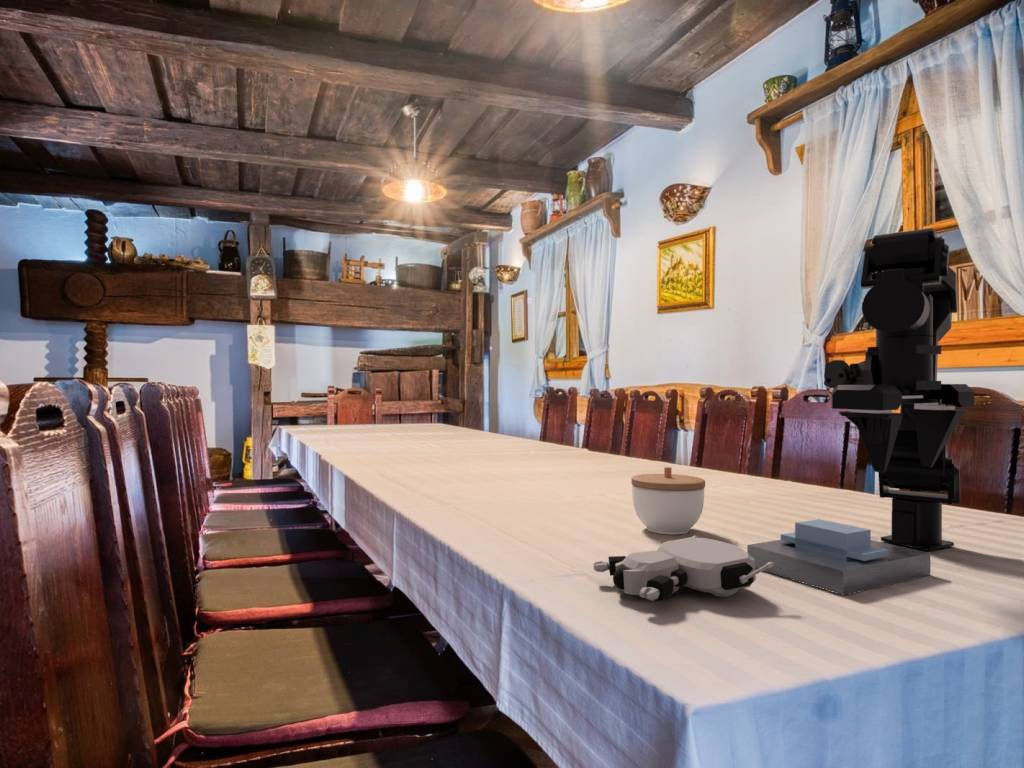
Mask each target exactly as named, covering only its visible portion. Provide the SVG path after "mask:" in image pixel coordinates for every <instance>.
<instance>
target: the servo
mask: <svg viewBox="0 0 1024 768" xmlns="http://www.w3.org/2000/svg"><path fill="white" fill-rule="evenodd" d="M794 524H795V525H794V527H795V528H794V530H795V531H794V532H788V533H781V534H780V540H782V541H786V542H790V543H794V544H795V548H796V549H800V550H804V551H808V552H812V553H816V554H820V555H824V556H828V557H831V558H835V559H839V560H843V561H847V562H852V561H857V560H862V561H867V560H872V559H877V558H882V557H887V556H888V550H887V549H883V548H878V547H874V546H871V540H872V539H871V534H872V533H871V529H868V528H864V527H860V526H859V527H858V526H853V525H848V524H844V523H839V522H834V521H830V520H824V519H812V520H805V521H798V522H795V523H794Z"/></svg>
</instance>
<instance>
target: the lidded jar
mask: <svg viewBox="0 0 1024 768" xmlns="http://www.w3.org/2000/svg"><path fill="white" fill-rule="evenodd" d="M663 471H664V472H663V473H644V474H636V475H633V476H632V477H631V482H630V483H631V494H632V495H631V496H632V503H633V508H634V511H635V513H636V516H637V518H638V519H639V521H640V522H641V523H642V524H643V525H644V526H645V527H646V530H647V531H648V532H651V533H653V534H654V533H655V534H659V535H660V534H661V535H671V536H672V535H673V536H674V535H685V534H688V533H689V532H690V529H691V528H692V527H694V526H695V525H696V524H697V522H698V521H699V519H700V517H701V515H702V513H703V509H704V502H705V488H706V480H705V479H704V478H702V477H698V476H694V475H687V474H686V475H685V474H676V473H675V474H673V473H672V467H671V466H670V467H669V466H665V467H664V470H663Z"/></svg>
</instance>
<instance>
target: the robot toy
mask: <svg viewBox="0 0 1024 768" xmlns="http://www.w3.org/2000/svg"><path fill="white" fill-rule="evenodd" d="M773 564H774V562H768V563H767V564H766V565H765V566H763V567H761V568H759V569H755V560H754V558H753V557H752V556H751V555H750V554H749V553H747V551H746V550H745V549H743V548H741V547H738V546H736V545H734V544H732V543H728V542H725V541H721V540H716V539H711V538H706V537H699V536H698V535H693V536H691V537H685V538H680V539H674V540H668V541H664V542H663V543H661V545H659V546H658V547H657V550H655V549H654V550H648V551H639V552H630V553H629V554H628V555H627V556H626V555H618V556H617V555H616V556H611V555H610V556H608V562H607V561H605V560H598V561H597V560H596V561H595V562H594V563H593V570H594V571H595V572H598V573H604V572H607V571H609V576H610V577H611V576H612V581H613V584H614V586H615V587H616V588H617V589H618V590H621V591H624V594H626V595H632V596H638V597H639V598H642V599H644V600H647V601H651V602H653V601H656V602H659V601H664V600H666V599H668V598H670V597H671V596H673V594H674V593H675V592H677V591H678V590H679V589H680V588H681V587H685V588H688V589H691V590H695V591H699V592H703V593H709V594H711V595H712V596H715V597H719V598H728V597H730V596H732V595H734V594H735V593H737V592H738V591H739V590H741V589H746V588H750V587H751V586H752V585H753V584H754V582H755V581H756V580H757V575H758V574H760V573H762V572H764V571H763V570H765V569H767V568H770V567H772V566H773Z"/></svg>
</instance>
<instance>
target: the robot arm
mask: <svg viewBox="0 0 1024 768" xmlns="http://www.w3.org/2000/svg"><path fill="white" fill-rule="evenodd" d="M945 240H946V239H945V238H943V236H938V235H937V232H936V230H935V228H933V227H929V228H923V229H922V228H921V229H914V230H907V231H900V232H899V231H898V232H891V233H884V234H876V235H874V236H873V237H872V238H871V245H870V244H869V245H866V246H865V250H864V258H863V265H862V271H861V272H862V273H861V278H860V287H861V288H862V289H863V290H865V289H869V290H868V291H867V293H865V295H864V298H863V301H862V302H861V311H862V316H863V318H864V320H865V321H866V322H867V324H869V325H870V327H872V328H874V330H875V346H868V347H867V349H866V350H865V353H864V358H865V359H864V360H863V361H859V362H857V363H850V364H848V363H847V362H846V361H845V360H843V359H834V360H831V361H829V362H827V363H825V365H824V374H823V378H824V381H823V385H824V386H825V387H828V388H829V389H833V390H832V391H831V393H830V408H831V409H832V410H833V409H835V410H836V409H837V410H843V411H838V414H839V415H840V416H841V417H845V418H846V419H847V420H849V421H850V422H851V423H852V424H854V426H856V428H857V430H858V433H859V434H860V436H861V439H862V441H863V444H864V447H865V449H866V453H867V456H868V458H869V460H870V463H871V466H872V469H873V471H874V472H876V473H877V474H878V491H879V498H880V499H881V498H889V499H891V529H890V530H891V535H885V536H880V542H884V543H889V544H894V545H898V546H900V545H901V546H903V547H908V548H912V549H913V548H914V549H917V550H921V551H923V550H924V551H927V552H928V551H935V550H939V549H946V548H949V547H955V542H954V541H950V540H945V539H943V504H947V505H951V506H952V505H954V504H961V478H960V474H961V472H960V471H961V470H960V469H959V468H958V467H957V466H956V463H954V458H953V457H948V456H949V454H948V447H947V442H948V440H949V438H950V437H951V435H952V433H953V432H955V429H956V427H957V426H958V425H959V423H960V421H961V420H962V418H963V417H964V416H965V415H967V414H968V409H956V407H957V408H974V407H975V391H974V390H973V389H972V388H971V387H970V386H969V385H968V384H966V383H942V380H938V356H939V355H942V345H939V342H940V341H941V340H942V339H943V338H944V337H945V336H946V334H948V332H949V331H950V330H951V329H952V322H953V321H952V320H953V319H952V318H953V314H957V313H958V307H959V306H958V305H959V303H958V302H959V301H958V300H959V299H958V280H957V278H958V277H957V276H958V275H957V273H956V272H955V271H954V270H953V269H952V268H951V267H950V266H949V260H950V259H949V258H950V247H949V245H948V244H947V243H945ZM898 410H900V411H899V412H893V411H898ZM911 490H912V491H911ZM942 492H945V493H946V492H947V494H944V493H942Z"/></svg>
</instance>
